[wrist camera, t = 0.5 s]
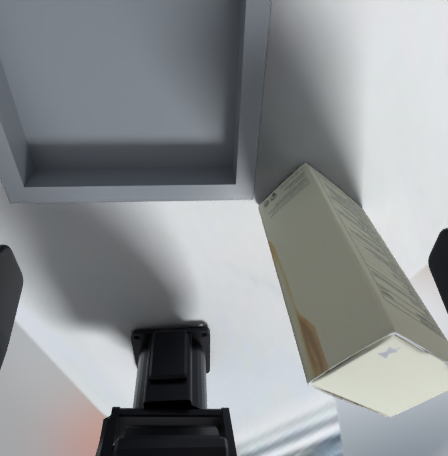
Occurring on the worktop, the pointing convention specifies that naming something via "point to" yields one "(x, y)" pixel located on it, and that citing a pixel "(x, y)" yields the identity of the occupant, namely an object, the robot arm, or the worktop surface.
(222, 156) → the tray
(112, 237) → the worktop surface
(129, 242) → the worktop surface
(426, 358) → the skincare box
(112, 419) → the robot arm
